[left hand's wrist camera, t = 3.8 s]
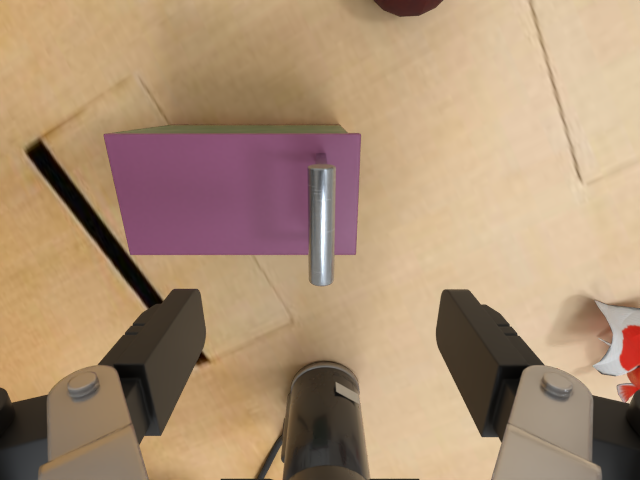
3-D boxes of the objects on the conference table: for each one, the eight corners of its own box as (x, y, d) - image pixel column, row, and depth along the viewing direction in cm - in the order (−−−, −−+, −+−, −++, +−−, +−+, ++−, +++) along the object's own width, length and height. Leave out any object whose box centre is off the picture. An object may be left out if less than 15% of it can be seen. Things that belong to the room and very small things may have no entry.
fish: (591, 425, 44) (683, 461, 34) (536, 311, 45) (609, 315, 36) (652, 387, 46) (754, 411, 36) (597, 279, 48) (681, 275, 38)
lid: (359, 133, 25) (377, 145, 17) (354, 250, 28) (367, 303, 20) (109, 133, 24) (18, 145, 17) (135, 250, 28) (68, 303, 20)
